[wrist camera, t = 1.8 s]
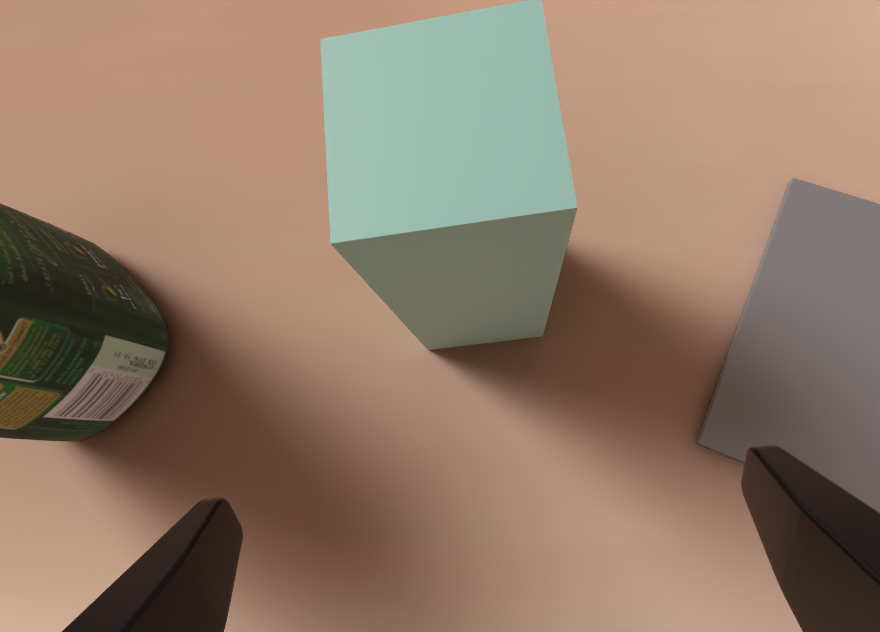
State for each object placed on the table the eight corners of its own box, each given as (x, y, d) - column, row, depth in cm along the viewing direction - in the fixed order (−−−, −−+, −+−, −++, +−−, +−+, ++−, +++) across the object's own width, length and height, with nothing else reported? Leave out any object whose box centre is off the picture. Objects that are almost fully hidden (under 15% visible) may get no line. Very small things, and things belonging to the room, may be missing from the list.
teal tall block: (545, 336, 23) (582, 206, 10) (428, 350, 24) (330, 242, 11) (529, 228, 24) (545, -4, 12) (418, 244, 25) (320, 38, 12)
